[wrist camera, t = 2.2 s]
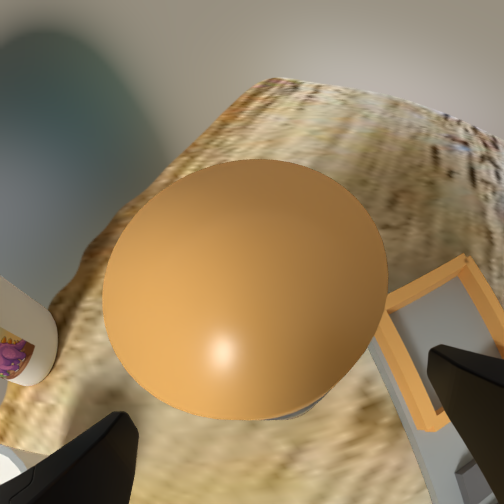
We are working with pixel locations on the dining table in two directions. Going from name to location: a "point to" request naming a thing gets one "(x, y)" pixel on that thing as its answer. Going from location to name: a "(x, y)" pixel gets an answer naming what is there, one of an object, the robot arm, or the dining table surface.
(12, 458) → the white tapered cup
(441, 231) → the dining table surface
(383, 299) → the grey orange cylinder
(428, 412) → the breaker panel
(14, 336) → the milk bottle
